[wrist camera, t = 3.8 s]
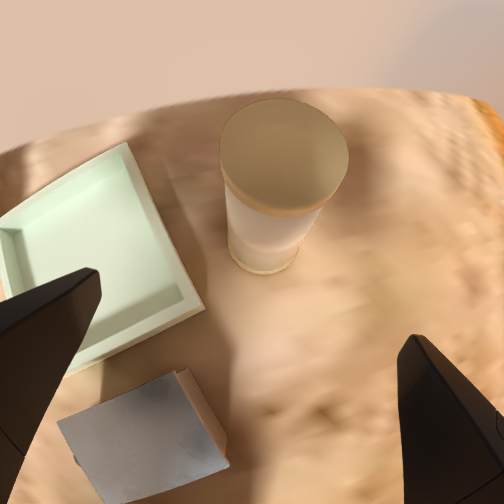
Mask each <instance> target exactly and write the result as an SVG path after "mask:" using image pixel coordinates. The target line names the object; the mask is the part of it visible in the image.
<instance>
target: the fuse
mask: <svg viewBox="0 0 504 504" xmlns="http://www.w3.org/2000/svg"><path fill="white" fill-rule="evenodd" d="M219 154H220V165H221V172H222V175H223V178H224V183H225V196H226V208H227V221H228V234H227V240H228V248H229V252H230V254H231V257H232V258H233V260H234V261H235V263H236V264H237V265H238V266H239V267H240V268H242V269H243V270H244V271H246V272H248V273H251V274H254V275H259V276H268V275H273V274H276V273H278V272H281V271H282V270H284V269H285V268H286V267H287V266H288V265H289V264H290V263H291V262H292V260H293V259H294V257H295V256H296V254H297V252H298V249H299V246H300V245H301V243H302V241H303V240H304V238H305V237H306V235H307V233H308V232H309V230H310V228H311V227H312V225H313V223H314V222H315V220H316V218H317V217H318V215H319V214H320V212H321V210H322V209H323V207H324V205H325V204H326V203H327V202H328V201H329V200H330V199H331V198H332V196H333V195H334V193H335V192H336V190H337V189H338V187H339V185H340V184H341V182H342V181H343V179H344V177H345V174H346V172H347V168H348V163H349V152H348V147H347V144H346V141H345V138H344V136H343V134H342V132H341V131H340V130H339V128H338V127H337V125H336V124H335V123H334V122H333V121H332V120H331V119H330V118H329V117H328V116H327V115H325V114H324V113H322V112H321V111H319V110H318V109H316V108H314V107H312V106H310V105H308V104H305V103H302V102H299V101H295V100H289V99H267V100H261V101H258V102H254V103H252V104H249V105H247V106H245V107H244V108H242V109H240V110H239V111H238V112H236V113H235V114H234V115H233V116H232V117H231V118H230V119H229V121H228V122H227V123H226V125H225V127H224V128H223V131H222V133H221V136H220V142H219Z"/></svg>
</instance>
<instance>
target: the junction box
mask: <svg viewBox="0 0 504 504" xmlns="http://www.w3.org/2000/svg"><path fill="white" fill-rule="evenodd" d="M57 424H58V426H59V428H60V430H61V432H62V434H63V436H64V438H65V440H66V442H67V443H68V445H69V447H70V449H71V451H72V452H73V454H74V459H75V461H76V463H77V464H78V465H79V466H80V467H81V468H82V469H83V471H84V473H85V474H86V476H87V477H88V479H89V481H90V482H91V484H92V485H93V487H94V488H95V490H96V491H97V493H98V494H99V496H100V497H101V499H102V500H103V501H104V503H105V504H124V503H128V502H132V501H135V500H139V499H142V498H146V497H149V496H152V495H155V494H159V493H162V492H165V491H168V490H171V489H174V488H176V487H179V486H182V485H185V484H188V483H190V482H193V481H196V480H198V479H201V478H203V477H206V476H208V475H211V474H213V473H216V472H218V471H221V470H223V469H225V468H228V467H230V463H229V461H228V460H227V458H226V457H225V452H226V444H227V433H226V432H225V430H224V429H223V427H222V425H221V424H220V422H219V420H218V419H217V417H216V415H215V414H214V412H213V410H212V409H211V407H210V405H209V403H208V402H207V400H206V398H205V396H204V395H203V393H202V391H201V389H200V388H199V386H198V384H197V382H196V380H195V379H194V377H193V375H192V373H191V371H190V369H189V368H187V369H185V370H183V371H181V372H179V373H177V374H176V372H175V370H174V371H171V372H169V373H167V374H165V375H163V376H161V377H159V378H157V379H155V380H152V381H150V382H148V383H146V384H144V385H142V386H139V387H137V388H135V389H133V390H131V391H128V392H126V393H124V394H122V395H119V396H117V397H115V398H112V399H110V400H108V401H106V402H103V403H101V404H99V405H96V406H94V407H91V408H89V409H87V410H84V411H82V412H79V413H77V414H74V415H72V416H69V417H67V418H64V419H62V420H59V421H57Z"/></svg>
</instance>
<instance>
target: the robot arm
mask: <svg viewBox="0 0 504 504" xmlns="http://www.w3.org/2000/svg"><path fill="white" fill-rule="evenodd" d="M101 298H102V290H101V281H100V273H99V271H98V270H96V269H93V268H89V267H84V268H82V269H79V270H77V271H74V272H72V273H69V274H67V275H64V276H62V277H59V278H57V279H54V280H52V281H50V282H47V283H45V284H42V285H40V286H38V287H35V288H33V289H30V290H28V291H26V292H23V293H21V294H19V295H16V296H14V297H12V298H9V299H7V300H5V301H2V302H0V504H7V502H8V499H9V497H10V494H11V491H12V489H13V486H14V483H15V481H16V478H17V476H18V473H19V471H20V469H21V466H22V464H23V461H24V459H25V457H24V456H26V454H27V451H28V449H29V447H30V445H31V442H32V440H33V438H34V436H35V434H36V431H37V429H38V427H39V425H40V423H41V421H42V419H43V416H44V414H45V412H46V410H47V408H48V406H49V404H50V402H51V400H52V398H53V396H54V394H55V392H56V390H57V388H58V386H59V384H60V382H61V381H62V379H63V377H64V375H65V373H66V371H67V369H68V367H69V366H70V364H71V362H72V360H73V358H74V356H75V355H76V353H77V351H78V349H79V347H80V345H81V343H82V342H83V339H84V337H85V335H86V333H87V330H88V328H89V326H90V323H91V321H92V319H93V317H94V314H95V312H96V310H97V308H98V306H99V303H100V301H101ZM397 380H398V411H399V421H400V432H401V444H402V459H403V479H404V504H504V417H503V416H502V415H501V414H500V413H499V411H498V410H496V408H495V407H494V406H493V405H492V404H491V403H490V402H489V401H488V400H487V399H486V398H485V397H484V396H483V394H482V393H481V392H480V391H479V390H478V389H477V388H476V387H475V386H474V385H473V384H472V383H471V382H470V381H469V380H468V379H467V378H466V377H465V376H464V375H463V374H462V373H461V372H460V371H459V370H458V369H457V368H456V367H455V366H454V365H453V364H452V363H451V362H450V361H449V360H448V359H447V358H446V357H445V356H444V355H443V354H442V353H441V352H440V351H439V350H438V349H437V348H436V347H435V346H434V345H433V344H432V343H431V342H430V341H429V340H428V339H427V338H426V337H425V336H423V335H417V334H412V335H410V336H409V337H408V339H407V341H406V342H405V344H404V346H403V347H402V349H401V350H400V352H399V354H398V357H397Z"/></svg>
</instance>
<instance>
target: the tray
mask: <svg viewBox="0 0 504 504" xmlns="http://www.w3.org/2000/svg"><path fill="white" fill-rule="evenodd" d="M84 267H89V268H93V269H96V270H98V271H99V273H100V281H101V290H102V298H101V301H100V303H99V306H98V308H97V310H96V312H95V314H94V317H93V319H92V321H91V323H90V326H89V328H88V330H87V333H86V335H85V337H84V339H83V342H82V343H81V345H80V347H79V349H78V351H77V353H76V355H75V356H74V358H73V360H72V362H71V364H70V366H69V367H68V369H67V371H66V373H65V375H64V377H63V379H65V378H67V377H69V376H71V375H73V374H75V373H77V372H80V371H82V370H84V369H86V368H88V367H90V366H92V365H94V364H96V363H98V362H101V361H103V360H105V359H107V358H109V357H111V356H113V355H115V354H117V353H119V352H121V351H123V350H125V349H127V348H129V347H131V346H133V345H135V344H137V343H139V342H141V341H143V340H145V339H148V338H150V337H152V336H154V335H156V334H158V333H160V332H162V331H164V330H166V329H168V328H169V327H171V326H173V325H175V324H177V323H179V322H181V321H183V320H185V319H187V318H189V317H191V316H193V315H195V314H197V313H199V312H201V311H203V310H205V309H206V308H205V306H204V305H203V303H202V301H201V299H200V297H199V295H198V293H197V291H196V289H195V287H194V285H193V283H192V281H191V279H190V277H189V275H188V273H187V271H186V269H185V267H184V265H183V263H182V261H181V259H180V257H179V255H178V252H177V250H176V248H175V246H174V244H173V242H172V240H171V238H170V236H169V234H168V231H167V229H166V227H165V225H164V223H163V221H162V219H161V216H160V214H159V212H158V210H157V208H156V205H155V203H154V201H153V199H152V197H151V194H150V192H149V190H148V188H147V185H146V183H145V181H144V178H143V176H142V174H141V171H140V169H139V167H138V164H137V162H136V160H135V158H134V156H133V154H132V152H131V150H130V148H129V146H128V144H127V142H126V141H125V142H123V143H121V144H119V145H117V146H115V147H113V148H112V149H110V150H108V151H106V152H104V153H102V154H100V155H98V156H97V157H95V158H93V159H91V160H89V161H88V162H86V163H84V164H82V165H81V166H79V167H77V168H75V169H74V170H72V171H70V172H69V173H67V174H65V175H64V176H62V177H60V178H59V179H57V180H55V181H54V182H52V183H51V184H49V185H47V186H46V187H44V188H43V189H41V190H40V191H38V192H37V193H35V194H34V195H32V196H31V197H29V198H28V199H26V200H25V201H23V202H22V203H20V204H19V205H17V206H16V207H15V208H13V209H12V210H10V211H9V212H8V213H6V214H5V215H3V216H2V217H1V218H0V276H1V281H2V285H3V289H4V294H5V298H6V300H7V299H9V298H12V297H14V296H16V295H19V294H21V293H23V292H26V291H28V290H30V289H33V288H35V287H38V286H40V285H42V284H45V283H47V282H50V281H52V280H54V279H57V278H59V277H62V276H64V275H67V274H69V273H72V272H74V271H77V270H79V269H82V268H84ZM63 379H62V380H63Z"/></svg>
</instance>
